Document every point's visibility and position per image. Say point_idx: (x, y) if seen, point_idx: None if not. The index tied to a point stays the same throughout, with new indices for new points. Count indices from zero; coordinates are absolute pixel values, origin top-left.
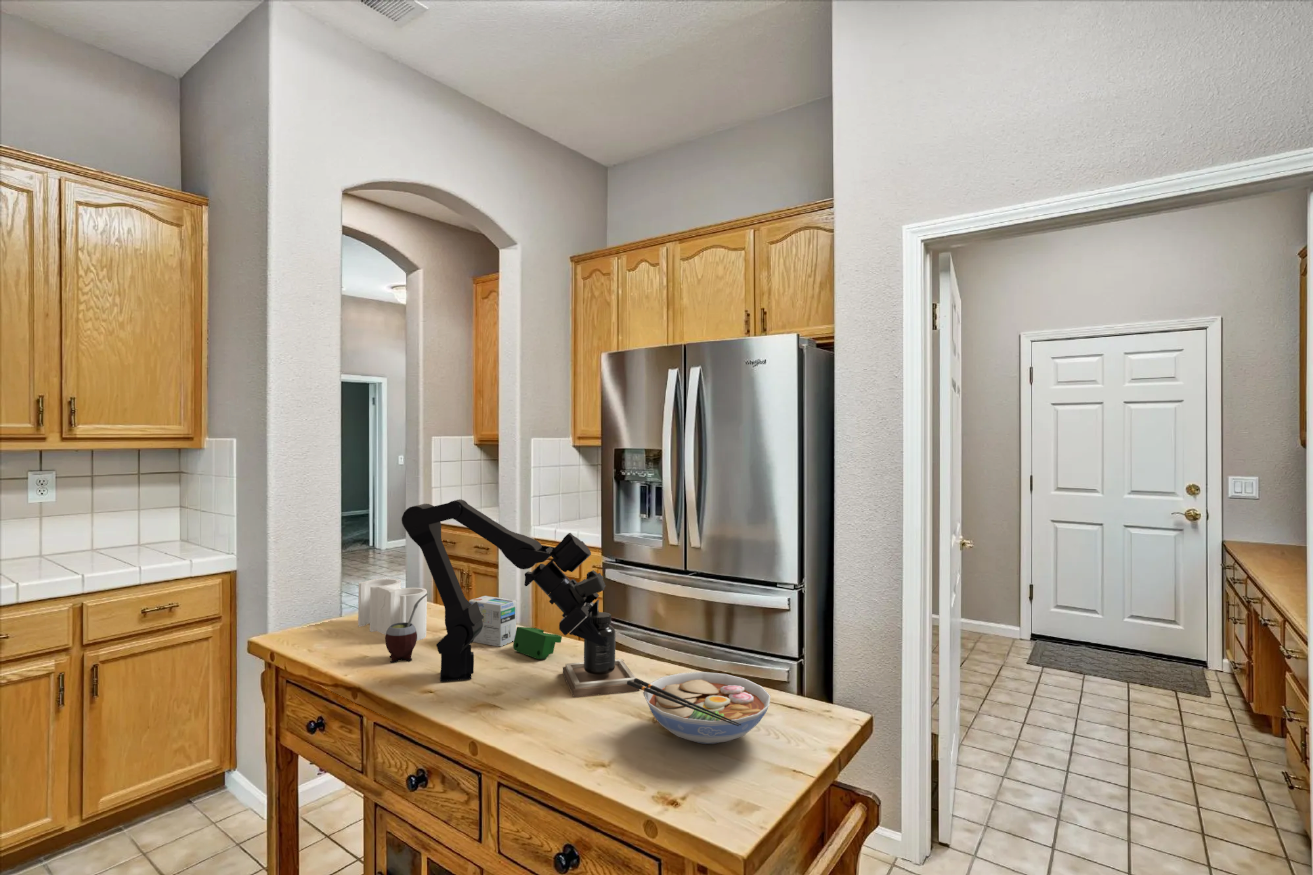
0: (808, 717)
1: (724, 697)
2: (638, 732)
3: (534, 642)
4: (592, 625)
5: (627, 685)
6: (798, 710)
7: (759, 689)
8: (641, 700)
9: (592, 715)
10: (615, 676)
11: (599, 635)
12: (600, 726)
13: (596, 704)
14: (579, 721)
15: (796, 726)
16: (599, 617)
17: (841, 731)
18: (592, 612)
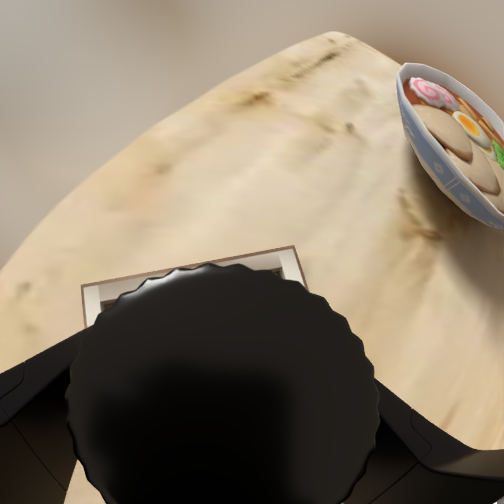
0: (356, 58)
1: (457, 114)
2: (472, 269)
3: None
4: (451, 439)
5: (305, 283)
6: (338, 56)
7: (424, 69)
8: (352, 253)
9: (436, 368)
10: None
11: (383, 386)
12: (469, 340)
13: (386, 371)
14: (457, 388)
15: (385, 77)
16: (371, 417)
17: (381, 56)
18: (8, 471)
